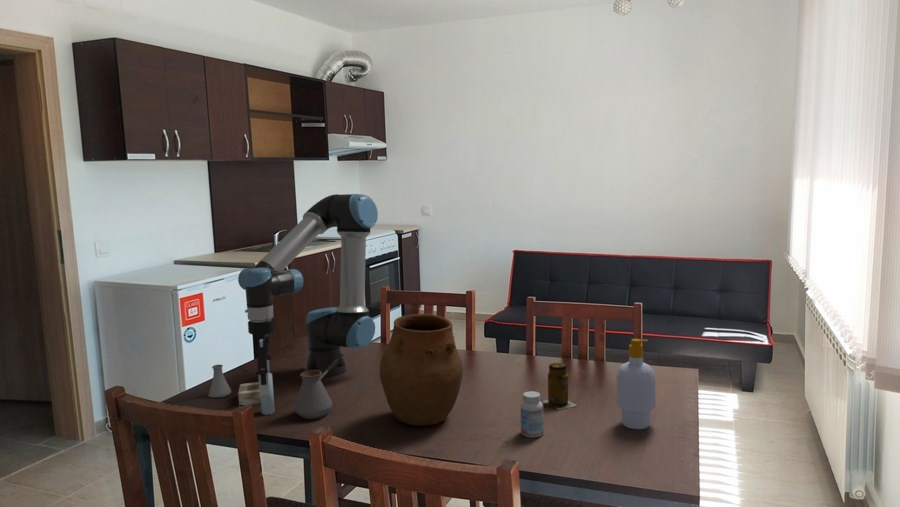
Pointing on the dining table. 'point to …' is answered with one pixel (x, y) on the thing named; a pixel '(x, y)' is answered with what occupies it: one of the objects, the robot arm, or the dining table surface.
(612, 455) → the dining table surface
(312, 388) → the coffee pot
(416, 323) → the pot
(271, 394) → the peg
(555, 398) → the condiment
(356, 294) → the robot arm
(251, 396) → the socket block
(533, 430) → the pill bottle
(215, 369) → the flask
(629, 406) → the soap bottle
